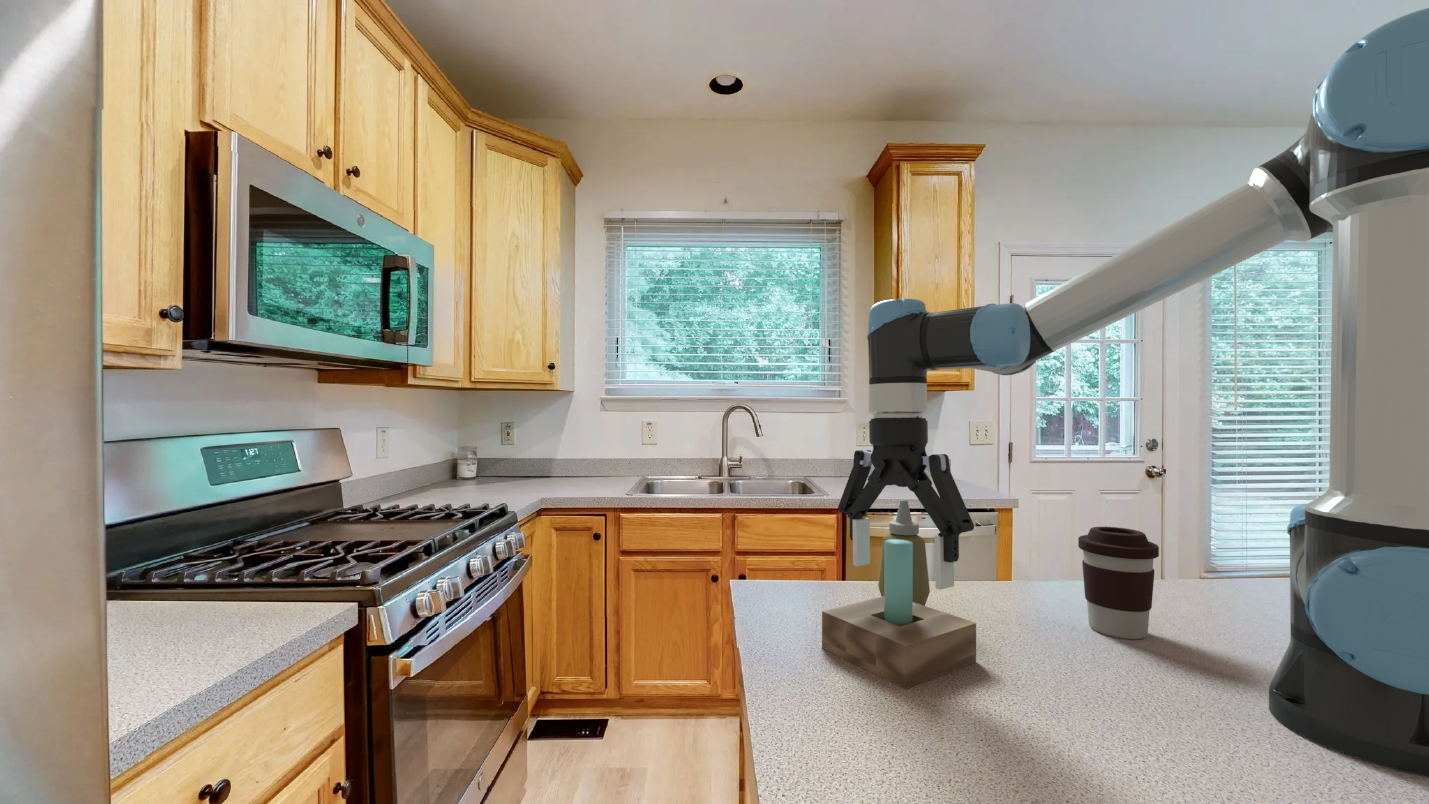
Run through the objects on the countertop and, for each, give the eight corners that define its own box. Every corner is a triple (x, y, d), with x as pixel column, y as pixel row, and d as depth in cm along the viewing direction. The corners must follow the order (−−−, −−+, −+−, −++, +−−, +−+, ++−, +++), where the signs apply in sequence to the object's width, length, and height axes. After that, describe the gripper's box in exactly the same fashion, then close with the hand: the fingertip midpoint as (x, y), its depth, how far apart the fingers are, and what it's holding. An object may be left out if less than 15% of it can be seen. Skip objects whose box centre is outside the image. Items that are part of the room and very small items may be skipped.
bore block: (976, 661, 76) (976, 623, 76) (905, 688, 69) (905, 645, 69) (890, 628, 88) (890, 594, 88) (821, 648, 80) (822, 611, 81)
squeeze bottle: (937, 620, 92) (937, 504, 92) (885, 619, 92) (885, 504, 92) (920, 603, 100) (920, 497, 100) (872, 602, 100) (872, 496, 100)
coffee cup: (1132, 620, 92) (1132, 525, 92) (1175, 645, 82) (1175, 538, 82) (1066, 618, 93) (1065, 523, 93) (1100, 642, 83) (1100, 536, 83)
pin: (918, 649, 78) (918, 543, 78) (900, 655, 76) (900, 546, 76) (896, 640, 81) (896, 538, 81) (878, 645, 79) (878, 541, 79)
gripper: (1002, 415, 71) (1006, 593, 70) (849, 416, 91) (850, 553, 91) (965, 415, 66) (968, 604, 66) (813, 416, 87) (814, 560, 87)
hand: (900, 575), depth 78 cm, fingers open, 13 cm apart
